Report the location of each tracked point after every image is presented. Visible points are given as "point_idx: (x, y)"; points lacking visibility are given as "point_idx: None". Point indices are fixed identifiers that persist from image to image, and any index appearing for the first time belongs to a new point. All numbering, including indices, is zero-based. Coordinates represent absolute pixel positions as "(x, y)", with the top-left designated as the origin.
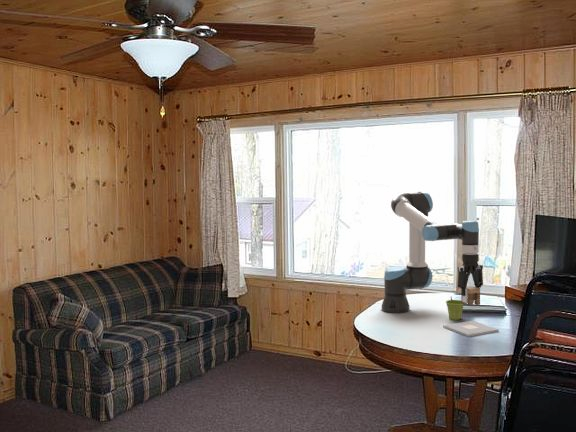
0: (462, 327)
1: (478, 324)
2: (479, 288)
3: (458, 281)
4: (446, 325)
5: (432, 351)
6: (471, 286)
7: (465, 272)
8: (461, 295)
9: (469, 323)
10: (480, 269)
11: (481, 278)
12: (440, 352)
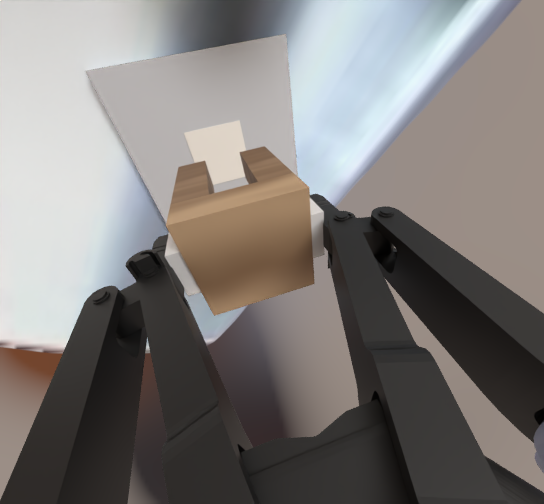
0: (185, 149)
1: (274, 124)
2: (307, 283)
3: (70, 366)
4: (108, 84)
5: (17, 334)
6: (293, 214)
7: (219, 469)
8: (173, 190)
9: (245, 91)
10: (525, 433)
11: (413, 299)
12: (46, 339)
